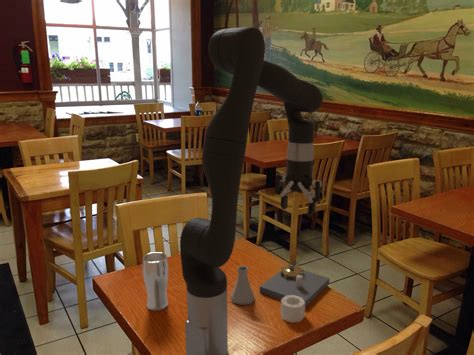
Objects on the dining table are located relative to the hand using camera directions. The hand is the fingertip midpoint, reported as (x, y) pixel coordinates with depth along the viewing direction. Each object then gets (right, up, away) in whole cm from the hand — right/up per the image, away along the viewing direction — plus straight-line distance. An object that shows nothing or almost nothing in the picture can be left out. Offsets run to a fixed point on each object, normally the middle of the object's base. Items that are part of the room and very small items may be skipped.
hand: (297, 211), depth 121 cm
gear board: (0, -24, +6) cm, 25 cm away
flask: (-16, -26, 0) cm, 31 cm away
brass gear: (0, -21, +10) cm, 23 cm away
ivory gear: (-3, -28, -9) cm, 29 cm away
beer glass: (-41, -27, -3) cm, 49 cm away
